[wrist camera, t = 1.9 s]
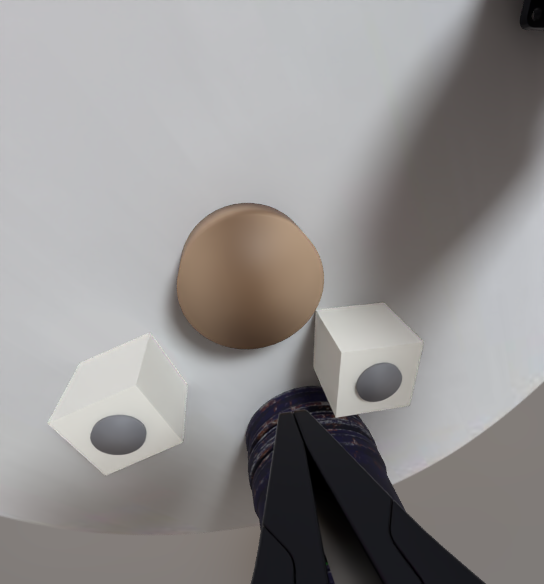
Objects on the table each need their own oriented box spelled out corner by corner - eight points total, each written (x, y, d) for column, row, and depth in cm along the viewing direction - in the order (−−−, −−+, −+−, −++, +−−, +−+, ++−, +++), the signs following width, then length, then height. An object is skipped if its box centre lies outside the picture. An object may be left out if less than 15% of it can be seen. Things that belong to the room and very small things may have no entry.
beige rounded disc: (310, 197, 19) (327, 209, 17) (308, 314, 23) (321, 339, 20) (170, 208, 18) (163, 222, 15) (191, 329, 22) (189, 357, 19)
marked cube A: (383, 301, 23) (426, 344, 19) (374, 358, 26) (411, 408, 21) (315, 309, 23) (343, 355, 18) (312, 366, 25) (337, 420, 20)
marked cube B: (150, 331, 21) (134, 388, 17) (187, 383, 24) (183, 446, 19) (80, 362, 21) (45, 427, 17) (124, 410, 24) (104, 479, 19)
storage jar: (232, 403, 25) (260, 709, 12) (355, 371, 26) (509, 625, 13) (256, 481, 30) (296, 763, 17) (360, 452, 30) (477, 700, 17)
